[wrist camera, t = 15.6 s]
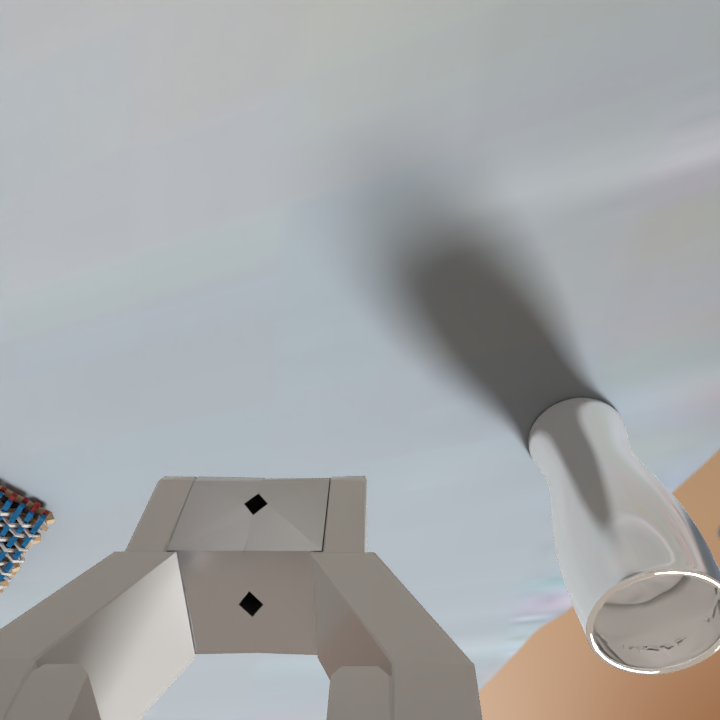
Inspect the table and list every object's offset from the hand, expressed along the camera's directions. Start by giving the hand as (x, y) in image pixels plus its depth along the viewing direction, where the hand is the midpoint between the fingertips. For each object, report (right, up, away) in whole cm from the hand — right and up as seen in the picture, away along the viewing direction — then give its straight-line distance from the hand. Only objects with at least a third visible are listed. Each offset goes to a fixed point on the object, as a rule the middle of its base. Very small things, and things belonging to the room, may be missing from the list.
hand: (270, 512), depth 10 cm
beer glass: (+15, -3, +34) cm, 37 cm away
